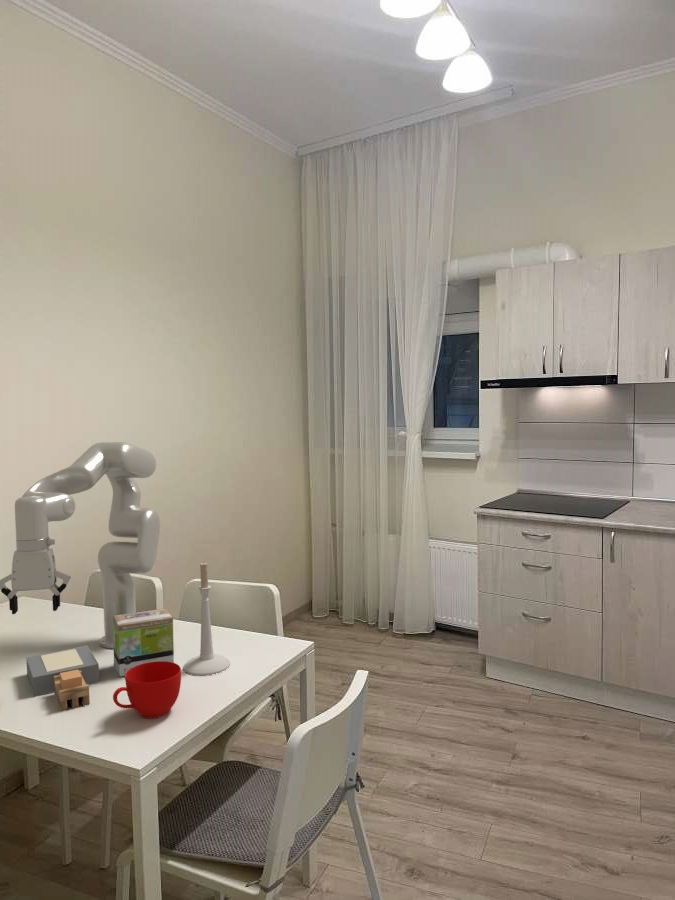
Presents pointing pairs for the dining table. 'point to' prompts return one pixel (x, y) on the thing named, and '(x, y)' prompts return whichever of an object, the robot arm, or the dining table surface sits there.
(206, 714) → the dining table surface
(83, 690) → the pallet
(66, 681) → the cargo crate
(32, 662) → the dock
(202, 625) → the candlestick
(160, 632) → the tea box
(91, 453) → the robot arm
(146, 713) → the ceramic cup
